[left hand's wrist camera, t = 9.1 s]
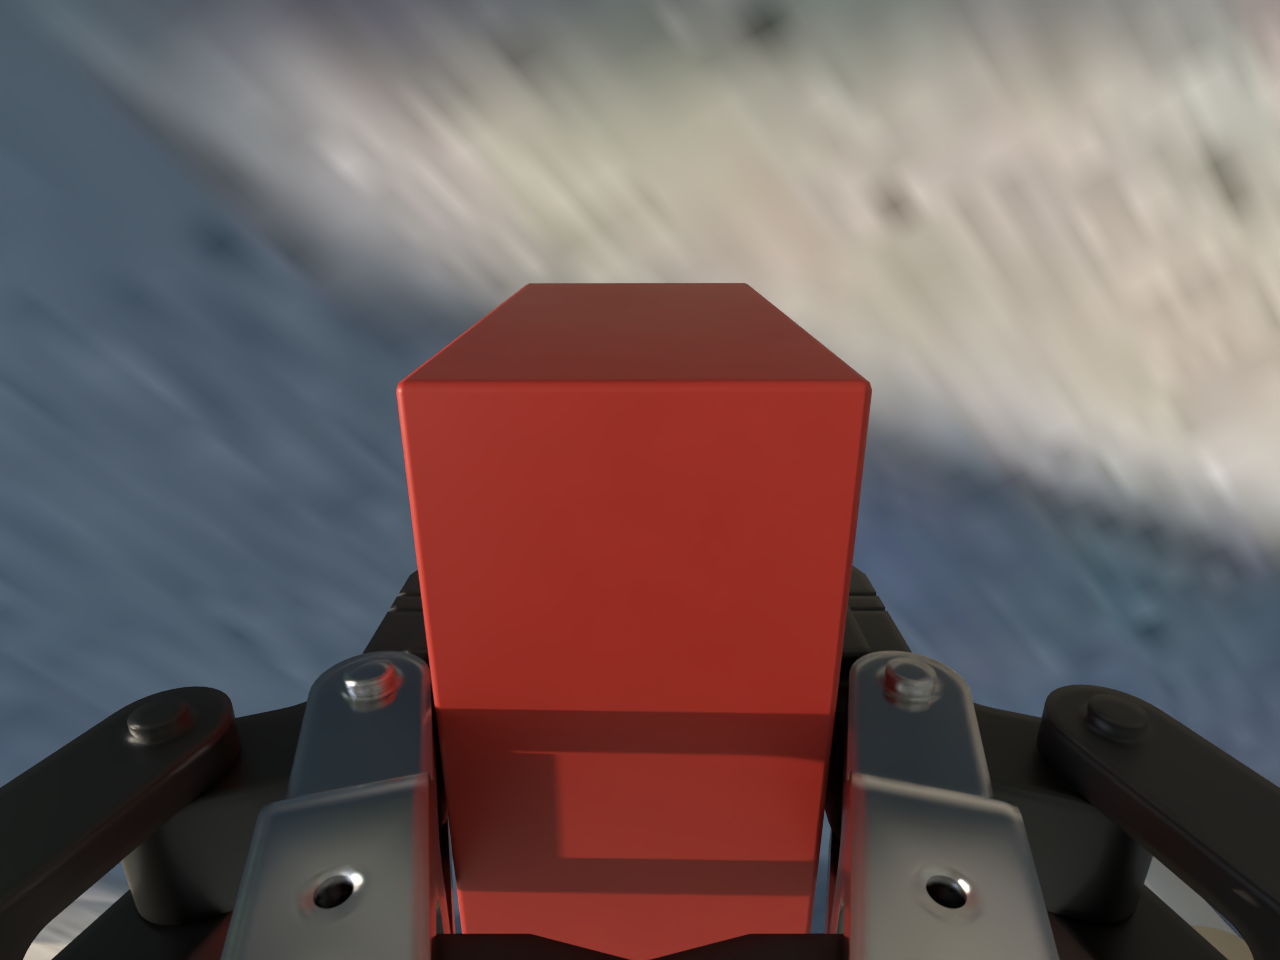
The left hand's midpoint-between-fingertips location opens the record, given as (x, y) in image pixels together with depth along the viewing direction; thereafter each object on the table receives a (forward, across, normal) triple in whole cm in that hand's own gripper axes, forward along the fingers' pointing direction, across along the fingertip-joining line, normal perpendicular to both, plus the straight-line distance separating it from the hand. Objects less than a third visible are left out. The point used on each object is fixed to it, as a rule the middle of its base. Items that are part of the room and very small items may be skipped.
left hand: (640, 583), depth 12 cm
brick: (+3, 0, 0) cm, 3 cm away
